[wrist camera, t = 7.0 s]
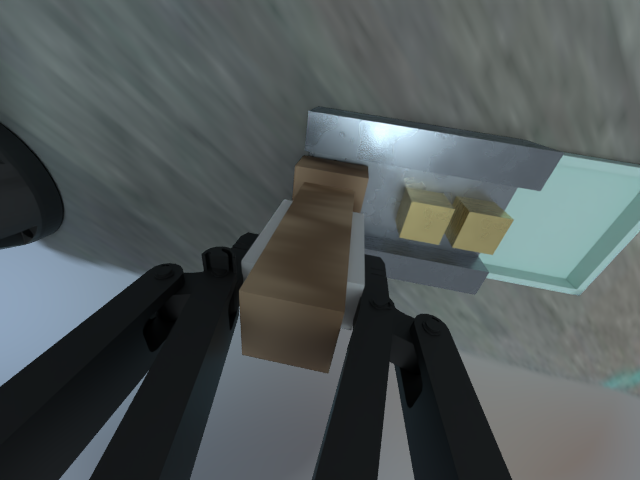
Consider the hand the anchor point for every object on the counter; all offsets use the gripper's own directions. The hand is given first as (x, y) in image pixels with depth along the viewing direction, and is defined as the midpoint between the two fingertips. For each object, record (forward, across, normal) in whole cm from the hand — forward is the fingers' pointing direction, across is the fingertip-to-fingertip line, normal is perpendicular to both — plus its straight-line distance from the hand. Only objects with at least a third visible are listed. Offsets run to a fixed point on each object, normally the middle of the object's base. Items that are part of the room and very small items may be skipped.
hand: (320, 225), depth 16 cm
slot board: (+8, +6, 0) cm, 10 cm away
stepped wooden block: (+6, 0, 0) cm, 6 cm away
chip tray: (+8, +19, 0) cm, 21 cm away
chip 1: (+6, +7, 0) cm, 10 cm away
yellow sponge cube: (+6, +11, 0) cm, 13 cm away
